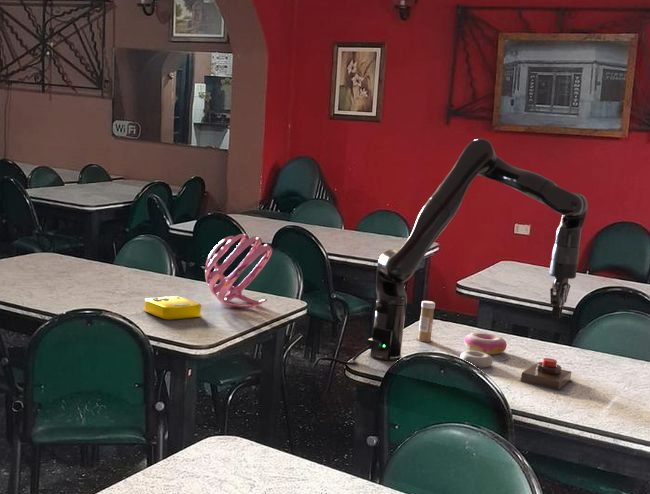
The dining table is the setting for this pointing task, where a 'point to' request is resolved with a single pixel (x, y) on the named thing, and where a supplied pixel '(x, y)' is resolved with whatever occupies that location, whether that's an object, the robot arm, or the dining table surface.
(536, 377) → the switch block
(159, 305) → the element tile
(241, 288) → the spiral basket
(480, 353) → the donut
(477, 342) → the donut
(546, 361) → the light button
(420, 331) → the sprinkles bottle
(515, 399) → the dining table surface
